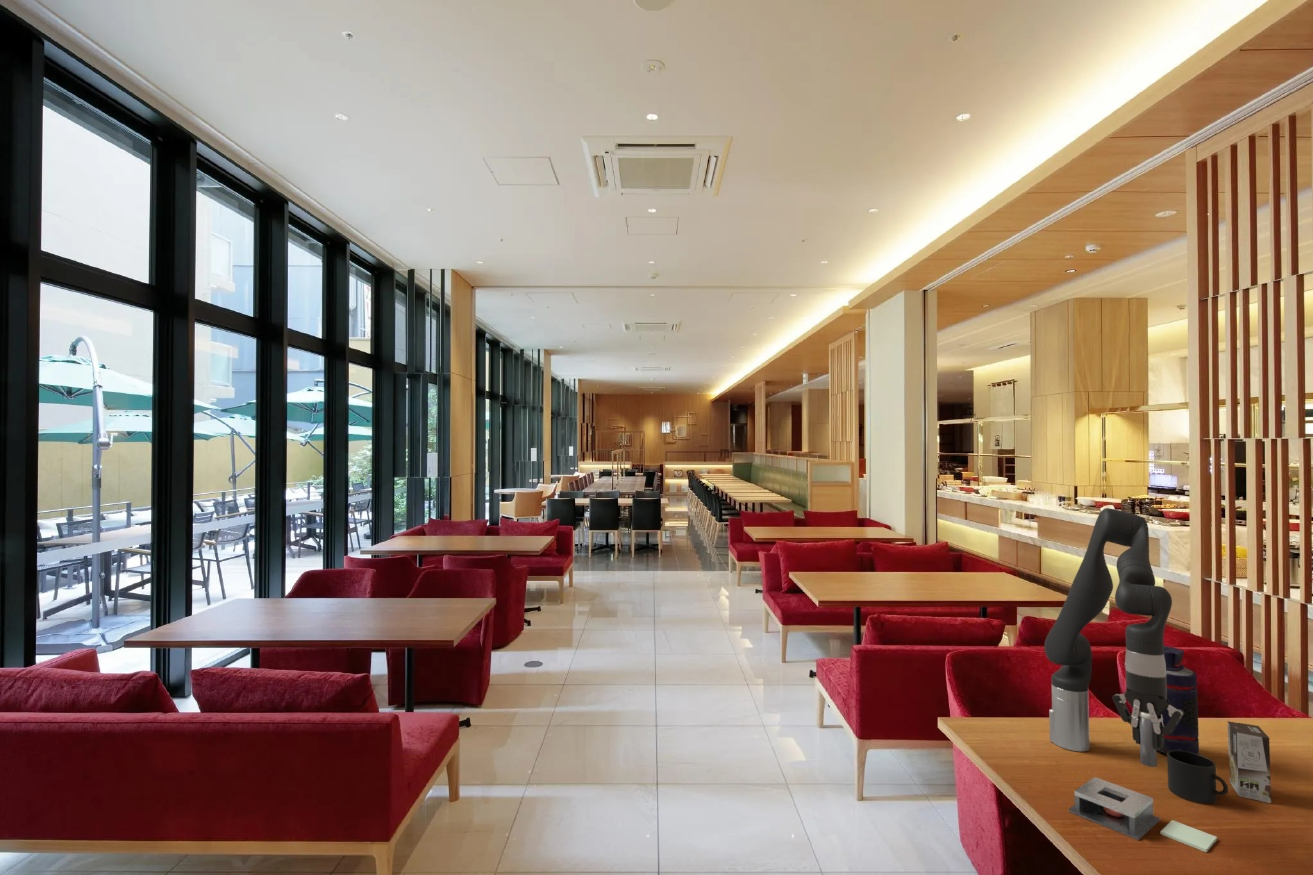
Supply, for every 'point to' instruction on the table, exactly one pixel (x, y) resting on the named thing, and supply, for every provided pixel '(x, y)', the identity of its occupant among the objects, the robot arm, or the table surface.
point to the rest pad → (1189, 836)
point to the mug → (1193, 777)
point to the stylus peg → (1147, 740)
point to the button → (1112, 812)
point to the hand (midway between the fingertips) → (1148, 745)
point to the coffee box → (1249, 761)
